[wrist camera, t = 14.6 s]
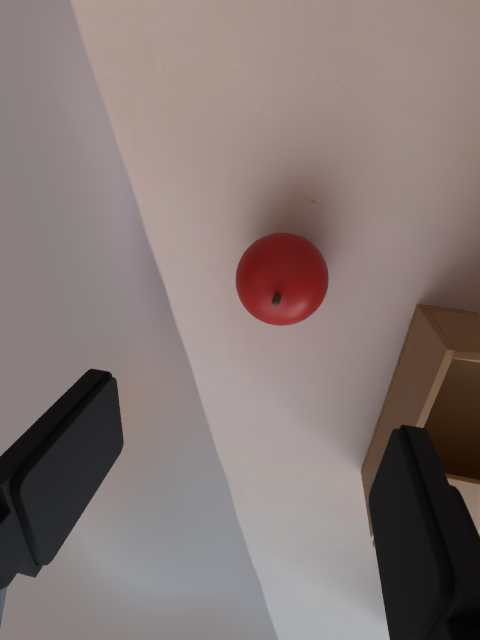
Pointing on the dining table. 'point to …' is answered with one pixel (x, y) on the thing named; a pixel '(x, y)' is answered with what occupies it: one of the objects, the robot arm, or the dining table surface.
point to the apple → (282, 279)
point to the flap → (467, 356)
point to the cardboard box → (436, 400)
